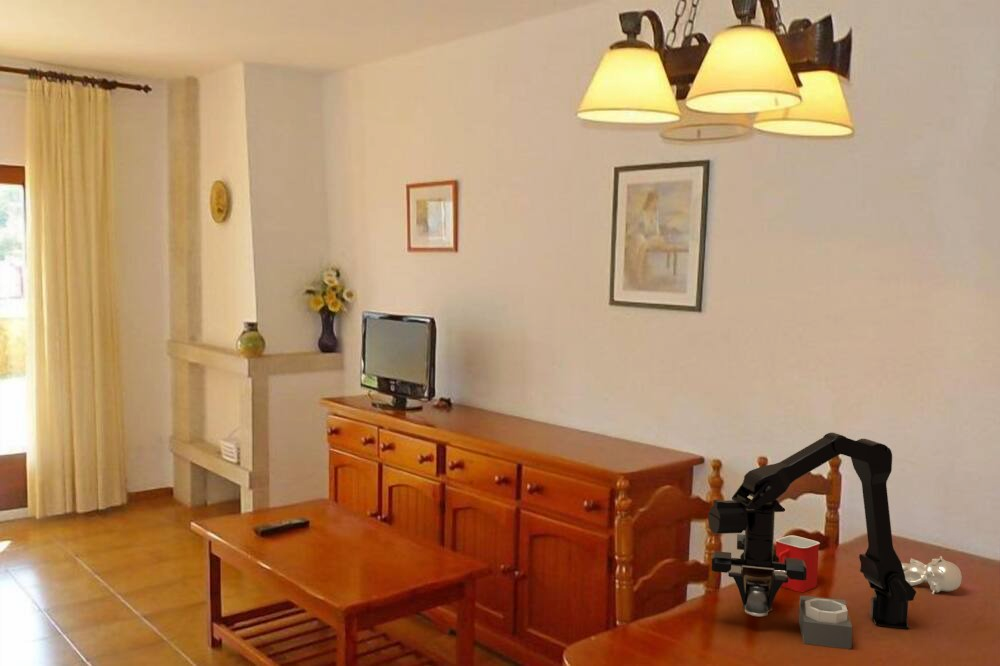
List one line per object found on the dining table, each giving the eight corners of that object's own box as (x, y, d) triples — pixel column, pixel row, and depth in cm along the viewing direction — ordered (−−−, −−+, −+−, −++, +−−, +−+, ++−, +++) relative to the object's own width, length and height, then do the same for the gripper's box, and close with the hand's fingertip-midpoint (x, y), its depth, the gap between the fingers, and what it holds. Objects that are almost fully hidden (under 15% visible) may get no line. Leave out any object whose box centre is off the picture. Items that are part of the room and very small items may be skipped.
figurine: (895, 545, 220) (958, 548, 209) (907, 562, 223) (970, 566, 212) (885, 582, 214) (949, 587, 203) (898, 599, 217) (962, 605, 206)
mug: (789, 577, 219) (791, 534, 218) (820, 586, 212) (822, 542, 212) (762, 587, 211) (763, 543, 210) (793, 597, 205) (795, 551, 204)
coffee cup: (779, 617, 192) (781, 558, 191) (739, 613, 194) (742, 555, 193) (775, 602, 201) (777, 546, 200) (737, 599, 202) (739, 543, 201)
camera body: (843, 626, 188) (845, 596, 187) (851, 649, 176) (852, 617, 176) (798, 621, 190) (800, 591, 189) (803, 643, 178) (804, 611, 178)
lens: (767, 609, 187) (768, 581, 186) (768, 617, 182) (769, 588, 182) (744, 607, 188) (745, 579, 187) (745, 615, 183) (746, 586, 183)
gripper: (803, 525, 189) (800, 597, 190) (713, 518, 194) (711, 588, 195) (808, 540, 179) (804, 616, 180) (712, 532, 183) (710, 606, 184)
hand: (756, 605), depth 185 cm, fingers closed on lens, 5 cm apart
